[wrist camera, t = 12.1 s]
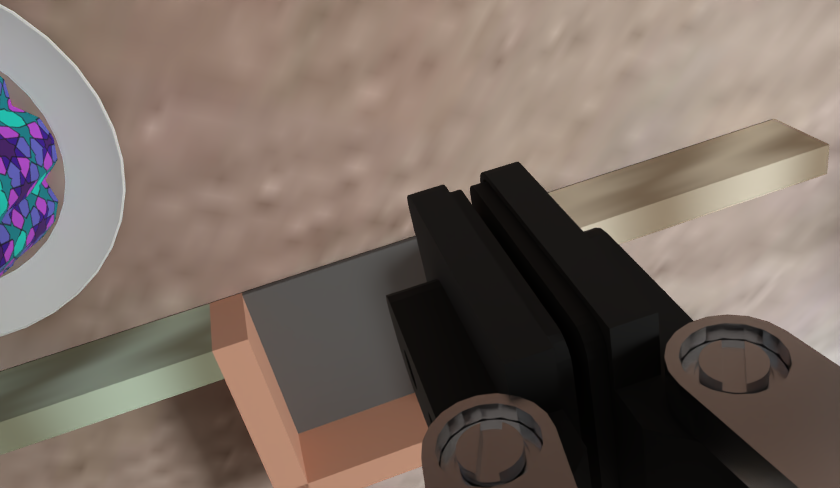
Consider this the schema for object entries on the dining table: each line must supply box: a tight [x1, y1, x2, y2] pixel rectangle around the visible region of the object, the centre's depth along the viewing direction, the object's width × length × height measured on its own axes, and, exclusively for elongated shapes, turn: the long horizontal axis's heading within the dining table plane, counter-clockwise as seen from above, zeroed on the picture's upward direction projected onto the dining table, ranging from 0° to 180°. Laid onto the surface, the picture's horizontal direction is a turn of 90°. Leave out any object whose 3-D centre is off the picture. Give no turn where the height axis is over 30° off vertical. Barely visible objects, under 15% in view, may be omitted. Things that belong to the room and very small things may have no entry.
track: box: [0, 119, 829, 455], centre depth 22 cm, size 37×17×4 cm, turn 102°
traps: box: [210, 236, 428, 488], centre depth 23 cm, size 10×31×3 cm, turn 12°
